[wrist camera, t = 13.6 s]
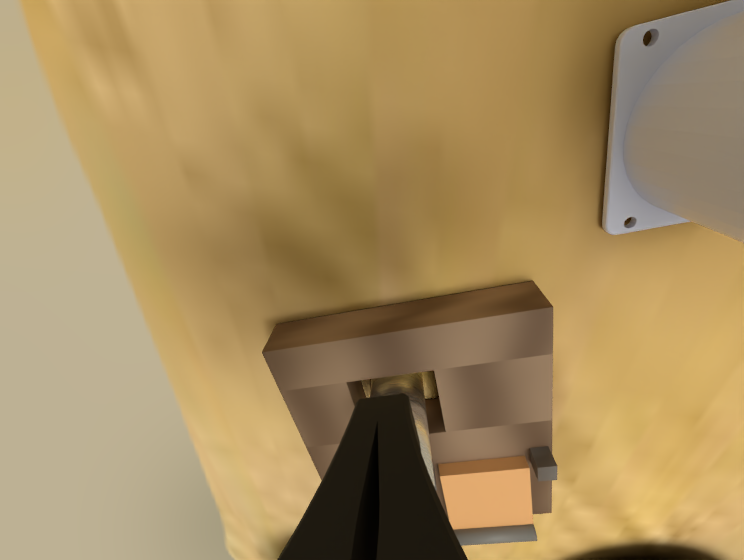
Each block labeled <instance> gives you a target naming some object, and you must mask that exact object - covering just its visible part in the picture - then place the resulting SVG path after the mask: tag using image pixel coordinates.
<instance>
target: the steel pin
mask: <svg viewBox="0 0 744 560" xmlns="http://www.w3.org/2000/svg"><path fill="white" fill-rule="evenodd" d="M402 393H404V394H406V395H408V396H409V400H410V404H411V408H412V412H413V416H414V420H415V424H416V428H417V432H418V437H419V441H420V447H421V454H422V456H423V459H424V462H425V464H426V467H427V470H428V473H429V475H430V478H431V480H432V483H433V485H434V488H435V482H434V473H433V465H432V456H431V447H430V439H429V430H428V422H427V413H426V405H425V396H424V387H423V379H422V372H418V373H410V374H403V375H396V376H389V377H381V378H374V379H371V394H370V398H371V397H379V396H387V395H394V394H402Z"/></svg>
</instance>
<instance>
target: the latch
mask: <svg viewBox="0 0 744 560" xmlns="http://www.w3.org/2000/svg"><path fill="white" fill-rule="evenodd" d="M438 465H439V473H440V479H441V484H442V489H443V493H444V498H445V503H446V507H447V512H448V517H449V521H450V524H451V526H452V528H453V530H454V532H455V535H456V537H457V539H458V541H459V543H460V545H461V546H462V545H478V544H494V543H510V542H526V541H537V535H536V531H535V528H534V525H533V512H532V497H531V482H530V468H529V465H528V463H527V460H526V457H525V456H516V457H506V458H496V459H485V460H475V461H465V462H455V463H444V464H438Z"/></svg>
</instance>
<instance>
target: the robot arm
mask: <svg viewBox="0 0 744 560" xmlns="http://www.w3.org/2000/svg"><path fill="white" fill-rule="evenodd" d="M647 31H649V32H651V36H652V38H651V41H650V43H649V44H648V45H647V46H645V45H644V44H643V37H644V35H645V33H646V32H647ZM629 217H631V221H630V222H629V223H628V224H627V225H624V222H625V220H626V219H627V218H629ZM690 221H692V222H694V223H697V224H699V225H702V226H704V227H706V228H709V229H711V230H714V231H716V232H719V233H721V234H724V235H726V236H728V237H731V238H733V239H736V240H738V241H741V242H743V243H744V0H730V1H726V2H723V3H719V4H715V5H711V6H707V7H703V8H700V9H696V10H692V11H688V12H684V13H681V14H677V15H673V16H669V17H665V18H661V19H658V20H654V21H650V22H646V23H642V24H638V25H635V26H632V27H629V28H627V29H625V30H624V31H623V32H622V33H621V34H620V35H619V37H618V39H617V41H616V45H615V55H614V68H613V82H612V96H611V109H610V123H609V136H608V150H607V164H606V177H605V191H604V205H603V218H602V227H603V229H604V231H605V232H607V233H609V234H611V235H619V234H624V233H630V232H635V231H641V230H646V229H652V228H657V227H663V226H668V225H674V224H679V223H685V222H690ZM277 560H468V559H467V557H466V555H465V553H464V551H463V549H462V547H461V545H460V543H459V541H458V539H457V537H456V535H455V532H454V530H453V528H452V526H451V524H450V522H449V520H448V517H447V515H446V513H445V511H444V508H443V506H442V504H441V502H440V499H439V497H438V495H437V492H436V490H435V488H434V485H433V483H432V480H431V478H430V475H429V473H428V470H427V467H426V464H425V462H424V459H423V456H422V454H421V447H420V441H419V437H418V432H417V428H416V424H415V420H414V416H413V412H412V408H411V404H410V400H409V396H408V395H406V394H404V393H402V394H394V395H387V396H379V397H371V398H364V399H359V400H358V401H357V402H356V405H355V407H354V410H353V413H352V415H351V418H350V420H349V423H348V425H347V428H346V430H345V432H344V435H343V437H342V439H341V442H340V444H339V446H338V448H337V450H336V453H335V455H334V457H333V459H332V461H331V463H330V465H329V467H328V469H327V471H326V474H325V476H324V478H323V480H322V482H321V484H320V486H319V487H318V489H317V491H316V493H315V495H314V497H313V499H312V501H311V502H310V504H309V506H308V508H307V510H306V512H305V514H304V516H303V517H302V519H301V521H300V523H299V524H298V526H297V528H296V530H295V531H294V533H293V535H292V536H291V538H290V540H289V541H288V543H287V545H286V546H285V548H284V550H283V551H282V553H281V555H280V556H279V558H278V559H277Z"/></svg>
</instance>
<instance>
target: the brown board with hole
mask: <svg viewBox="0 0 744 560" xmlns="http://www.w3.org/2000/svg"><path fill="white" fill-rule="evenodd" d="M262 354H263V356H264V358H265V360H266V362H267V364H268V367H269V369H270V371H271V373H272V375H273V377H274V379H275V382H276V384H277V386H278V388H279V390H280V392H281V394H282V396H283V399H284V401H285V403H286V405H287V407H288V409H289V411H290V414H291V416H292V418H293V420H294V422H295V424H296V426H297V429H298V431H299V433H300V435H301V437H302V439H303V441H304V443H305V446H306V448H307V450H308V452H309V454H310V456H311V458H312V461H313V463H314V465H315V467H316V469H317V471H318V473H319V476H320V478H321V480H323V478H324V476H325V474H326V471H327V469H328V467H329V465H330V463H331V461H332V459H333V457H334V455H335V453H336V450H337V448H338V446H339V444H340V442H341V439H342V437H343V435H344V432H345V430H346V428H347V425H348V423H349V420H350V418H351V415H352V413H353V410H354V407H355V405H356V402H357V401H358V400H359V399H364V398H366V396H365V393H364V390H363V387H362V384H361V381H360V380H367V379H374V378H381V377H389V376H396V375H403V374H410V373H418V372H425V371H432V370H434V373H435V378H436V383H437V388H438V394H439V398H436V399H428V400H425V405H426V413H427V422H428V430H429V439H430V447H431V456H432V465H433V473H434V482H435V490H436V492H437V495H438V497H439V499H440V502H441V504H442V506H443V508H444V511H445V513H446V515H447V517H448V512H447V507H446V503H445V498H444V493H443V489H442V484H441V479H440V473H439V465H438V464H444V463H455V462H465V461H475V460H485V459H496V458H506V457H516V456H525V457H526V460H527V463H528V465H529V468H530V482H531V497H532V512H533V514H541V513H551V511H552V480H557V464H556V462H555V460H554V458H553V455H552V387H553V306H552V305H551V304H550V302H549V301H548V300H547V298H546V297H545V296H544V295H543V293H542V292H541V291H540V289H539V288H538V287H537V285H536V284H535V283H534V282H533V281H529V282H523V283H517V284H511V285H505V286H500V287H494V288H488V289H482V290H476V291H470V292H464V293H458V294H452V295H446V296H440V297H434V298H428V299H422V300H416V301H410V302H404V303H399V304H393V305H387V306H381V307H375V308H369V309H363V310H357V311H351V312H345V313H339V314H333V315H327V316H321V317H315V318H309V319H303V320H298V321H292V322H286V323H280V324H276V326H275V328H274V330H273V332H272V334H271V336H270V338H269V340H268V342H267V344H266V346H265V347H264V349H263V351H262ZM448 520H449V517H448Z"/></svg>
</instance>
